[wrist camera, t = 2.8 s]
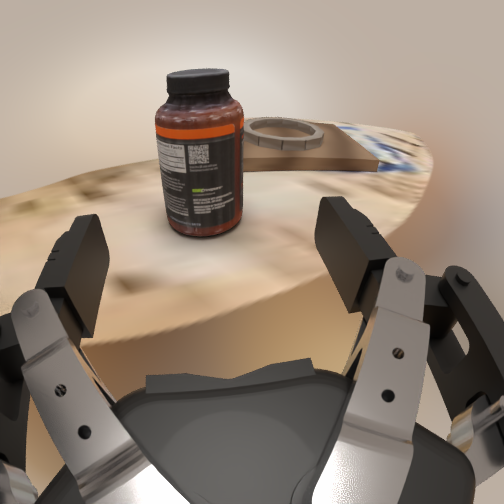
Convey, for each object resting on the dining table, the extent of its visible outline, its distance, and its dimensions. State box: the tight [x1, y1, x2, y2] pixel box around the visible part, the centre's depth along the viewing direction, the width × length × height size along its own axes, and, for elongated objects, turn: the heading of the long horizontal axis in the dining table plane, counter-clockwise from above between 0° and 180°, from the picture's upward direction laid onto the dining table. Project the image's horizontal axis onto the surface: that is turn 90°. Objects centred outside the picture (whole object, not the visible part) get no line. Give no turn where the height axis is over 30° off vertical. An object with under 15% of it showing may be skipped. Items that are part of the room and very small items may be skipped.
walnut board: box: [243, 117, 379, 172], centre depth 35 cm, size 20×14×3 cm
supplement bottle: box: [155, 69, 244, 236], centre depth 20 cm, size 6×6×11 cm
